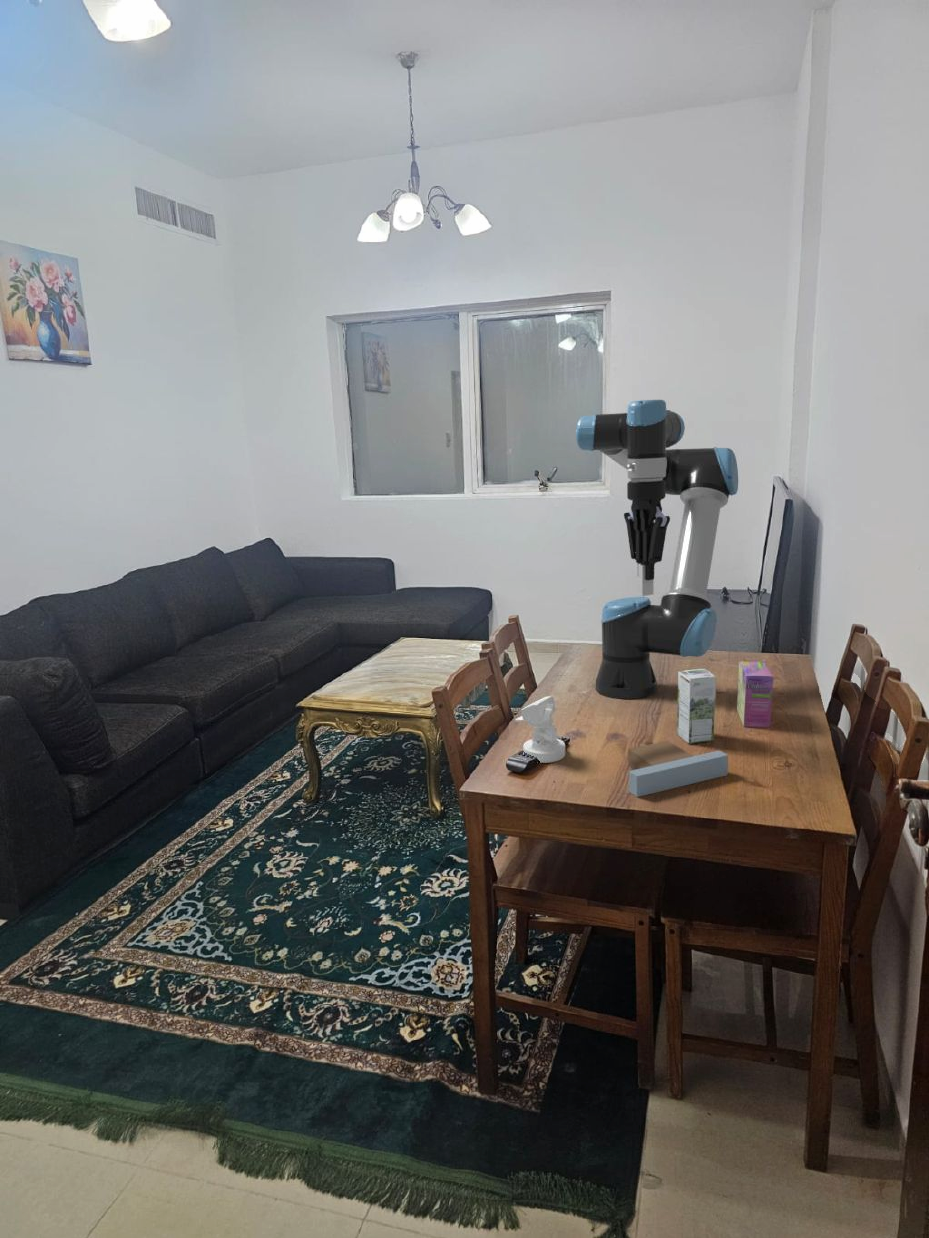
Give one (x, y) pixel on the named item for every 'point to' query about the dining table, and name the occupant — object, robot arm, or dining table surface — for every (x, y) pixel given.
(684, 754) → the block
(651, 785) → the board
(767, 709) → the box
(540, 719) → the character figurine
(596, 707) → the dining table surface
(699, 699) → the syrup box
